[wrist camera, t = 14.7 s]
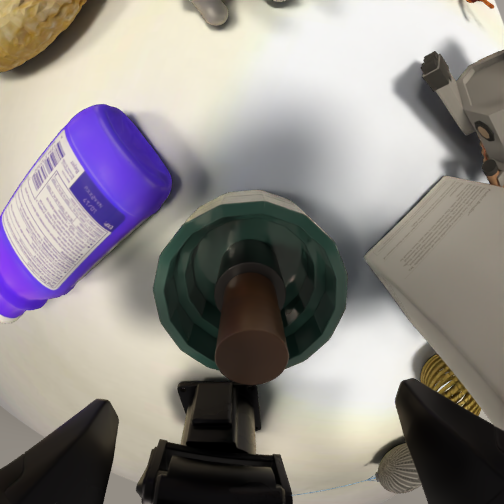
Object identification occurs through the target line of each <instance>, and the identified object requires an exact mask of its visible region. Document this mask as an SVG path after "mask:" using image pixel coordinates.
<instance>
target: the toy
mask: <svg viewBox="0 0 504 504" xmlns="http://www.w3.org/2000/svg"><path fill="white" fill-rule="evenodd" d="M466 1H467V2H469V3H474V2H476V1H482V2H484V3H485V4H486V5H487V6H488V7H490V8H491V9H492V8H494V5H492V4H491V3H489V2H488V1H487V0H466Z"/></svg>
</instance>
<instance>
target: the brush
mask: <svg viewBox="0 0 504 504" xmlns="http://www.w3.org/2000/svg"><path fill="white" fill-rule="evenodd" d="M214 299H215V303H216V306H217V308H218V309H219V311H220V312H221V317H220V324H219V330H218V337H217V344H216V351H215V362H216V365H217V367H218V369H219V370H220V372H221V373H222V374H223V375H224V376H225V377H227V378H228V379H230V380H232V381H234V382H236V383H240V384H245V385H258V384H263V383H266V382H269V381H271V380H273V379H275V378H276V377H278V376H279V375H280V374H281V373H282V372H283V371H284V369H285V368H286V366H287V363H288V360H289V352H288V347H287V342H286V337H285V333H284V328H283V323H282V318H281V313H280V311H281V309H282V308H283V306H284V303H285V299H286V288H285V284H284V281H283V277H282V274H281V270H280V267H279V263H278V260H277V257H276V255H275V253H274V251H273V250H272V249H271V248H270V247H269V246H268V245H266V244H265V243H263V242H260V241H257V240H242V241H239V242H236V243H234V244H233V245H231V246H230V247H229V248H228V249H227V250H226V251H225V253H224V254H223V257H222V259H221V263H220V268H219V272H218V276H217V281H216V285H215V289H214Z"/></svg>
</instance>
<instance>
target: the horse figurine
mask: <svg viewBox="0 0 504 504" xmlns="http://www.w3.org/2000/svg"><path fill="white" fill-rule="evenodd" d="M190 1H191V2H192V3H193V4H194V5H195V7H196V8H197V9H198V10H199V12H200V13H201V15H202V16H203V18H204V19H205V21H206V22H207V23H209V24H210V25H214V26H218V25H221V24H223V23H224V22H225V21H226V20H227V18H228V9H227V7H226V5H225V4H224V3H223V2H222V1H221V0H190ZM273 1H276V2H281V1H285V0H273Z"/></svg>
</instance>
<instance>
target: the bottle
mask: <svg viewBox="0 0 504 504" xmlns="http://www.w3.org/2000/svg"><path fill="white" fill-rule="evenodd" d="M171 187H172V178H171V175H170V173H169V171H168V169H167V168H166V166H165V165H164V163H163V162H162V160H161V159H160V157H159V156H158V155H157V153H156V152H155V150H154V149H153V148H152V147H151V146H150V144H149V143H148V141H147V140H146V139H145V138H144V137H143V135H142V134H141V132H140V131H139V129H138V128H137V127H136V126H135V125H134V123H133V122H132V121H131V120H130V119H129V118H128V117H127V116H126V115H125V114H124V113H123V112H122V111H121V110H119V109H117V108H115V107H111V106H108V105H105V104H98V105H94V106H91V107H88V108H86V109H84V110H82V111H81V112H79V113H78V114H76V115H75V116H74V117H73V118H72V119H71V120H70V121H69V123H68V124H67V125H66V126H65V127H64V128H63V129H62V130H61V131H60V132H59V133H58V135H57V136H56V137H55V138H54V140H53V141H52V142H51V143H50V145H49V146H48V147H47V148H46V150H45V151H44V152H43V153H42V155H41V156H40V157H39V159H38V160H37V161H36V163H35V164H34V165H33V167H32V168H31V169H30V171H29V172H28V174H27V175H26V176H25V178H24V179H23V181H22V182H21V184H20V185H19V187H18V188H17V190H16V191H15V193H14V194H13V196H12V197H11V199H10V201H9V202H8V204H7V205H6V207H5V209H4V210H3V212H2V214H1V216H0V322H1V323H6V324H10V323H13V322H15V321H17V320H18V319H19V317H20V316H22V315H23V313H24V312H25V311H26V310H35V309H39V308H41V307H42V306H43V305H44V304H45V303H46V302H47V300H48V299H51V298H57V297H60V296H61V295H65V294H67V293H68V292H69V291H70V290H71V289H73V288H74V286H75V285H76V283H77V282H78V281H80V280H81V279H82V278H83V277H84V276H85V275H86V274H87V273H88V272H89V271H90V270H91V269H92V268H93V267H94V266H96V265H97V264H98V263H99V262H100V261H101V260H102V259H103V258H104V257H105V256H106V255H107V254H108V253H109V252H110V251H111V250H113V249H114V248H115V247H116V246H117V245H118V244H119V243H120V242H121V241H122V240H124V239H125V238H126V237H127V236H128V235H129V234H130V233H132V232H133V231H134V230H135V229H136V228H137V227H138V226H140V225H141V224H142V223H143V222H144V221H145V220H146V219H148V218H149V217H150V216H151V215H152V214H154V213H156V212H157V211H158V210H159V209H160V208H161V205H162V204H163V202H164V201H165V200H166V199H167V197H168V195H169V193H170V191H171Z"/></svg>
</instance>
